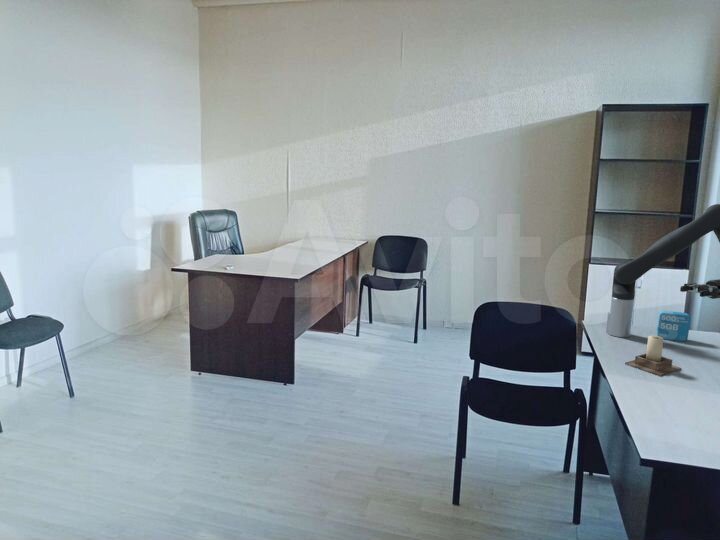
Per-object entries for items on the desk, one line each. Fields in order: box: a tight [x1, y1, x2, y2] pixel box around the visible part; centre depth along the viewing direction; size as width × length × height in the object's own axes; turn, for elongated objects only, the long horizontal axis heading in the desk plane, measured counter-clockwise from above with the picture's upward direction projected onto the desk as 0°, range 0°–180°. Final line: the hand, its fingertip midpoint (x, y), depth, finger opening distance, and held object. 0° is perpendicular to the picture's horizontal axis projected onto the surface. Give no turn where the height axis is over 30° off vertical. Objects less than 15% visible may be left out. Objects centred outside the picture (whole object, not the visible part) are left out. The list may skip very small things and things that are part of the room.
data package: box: [656, 310, 691, 342], centre depth 249 cm, size 12×4×12 cm, turn 66°
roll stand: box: [624, 353, 682, 377], centre depth 215 cm, size 14×14×4 cm
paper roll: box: [645, 335, 664, 363], centre depth 214 cm, size 5×5×11 cm
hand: (690, 291), depth 218 cm, fingers open, 8 cm apart
